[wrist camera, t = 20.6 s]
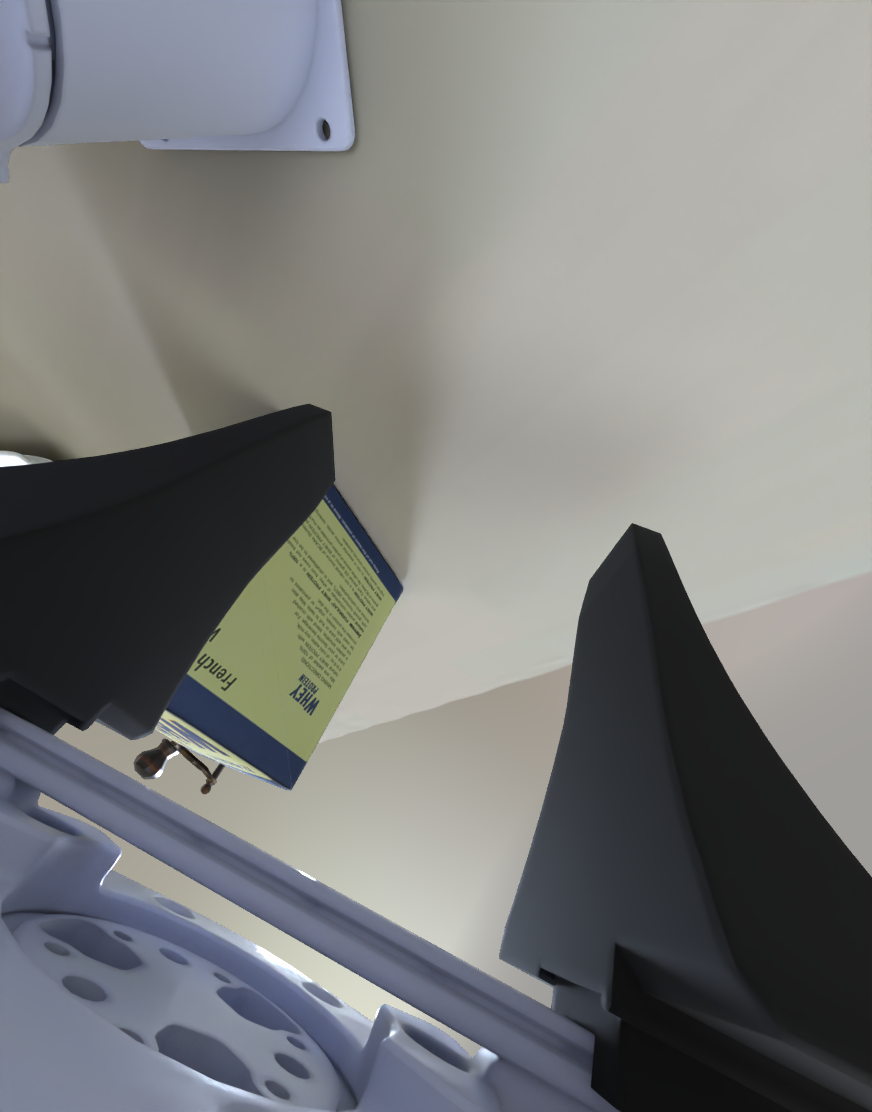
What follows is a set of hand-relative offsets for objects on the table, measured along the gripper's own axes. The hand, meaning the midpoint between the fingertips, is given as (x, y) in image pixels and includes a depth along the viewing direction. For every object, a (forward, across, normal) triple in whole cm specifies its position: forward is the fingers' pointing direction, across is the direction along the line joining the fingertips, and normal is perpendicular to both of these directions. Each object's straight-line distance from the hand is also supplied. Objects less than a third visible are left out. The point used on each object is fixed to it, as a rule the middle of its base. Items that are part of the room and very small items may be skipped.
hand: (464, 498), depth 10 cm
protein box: (+10, +13, +17) cm, 24 cm away
